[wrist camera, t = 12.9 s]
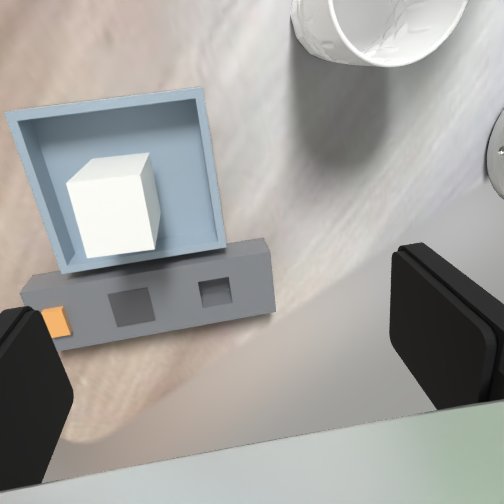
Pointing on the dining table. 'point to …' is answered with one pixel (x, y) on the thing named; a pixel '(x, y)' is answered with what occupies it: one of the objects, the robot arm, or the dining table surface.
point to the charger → (116, 205)
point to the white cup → (374, 29)
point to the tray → (116, 144)
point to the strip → (154, 295)
